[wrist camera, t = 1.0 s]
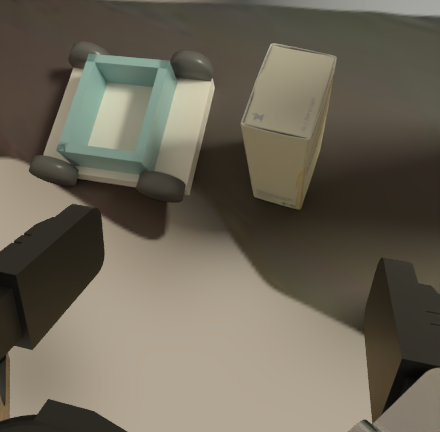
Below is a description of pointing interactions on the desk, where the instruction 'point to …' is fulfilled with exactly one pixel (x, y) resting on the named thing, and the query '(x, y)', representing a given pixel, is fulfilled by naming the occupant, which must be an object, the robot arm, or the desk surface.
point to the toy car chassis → (130, 122)
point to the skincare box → (287, 122)
